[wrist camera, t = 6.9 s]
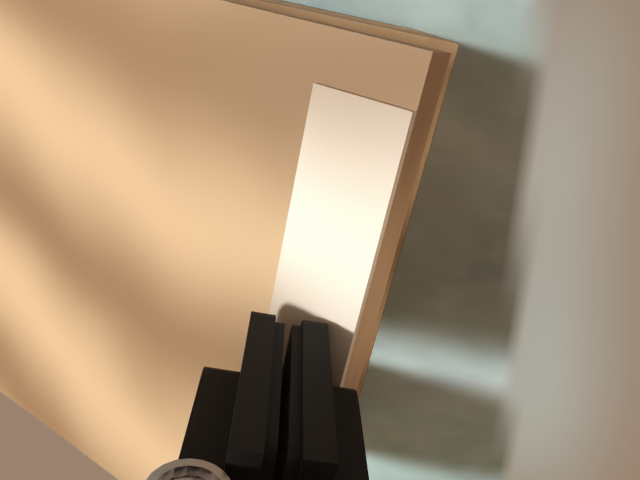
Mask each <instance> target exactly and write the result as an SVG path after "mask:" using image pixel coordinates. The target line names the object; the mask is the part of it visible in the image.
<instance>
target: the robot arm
mask: <svg viewBox="0 0 640 480" xmlns="http://www.w3.org/2000/svg"><path fill="white" fill-rule="evenodd" d="M284 332H285V323H279V322H276V315H272V314H266V313H260V312H254V311H251V315H250V321H249V326H248V332H247V337H246V343H245V348H244V354H243V360H242V365H241V371H240V372H238V371H231V370H224V369H218V368H211V367H205V366H204V368H203V370H202V374H201V377H200V381H199V385H198V388H197V392H196V396H195V399H194V403H193V407H192V410H191V414H190V418H189V422H188V425H187V429H186V433H185V436H184V440H183V444H182V447H181V451H180V455H179V458H178V460H174V461H171V462H168V463H166V464H163V465H161V466H160V467H159V468H157V469H156V470H154V471H153V472H152V473H151V474H150V475H149V477H148V478H147V479H146V480H369V476H368V469H367V461H366V454H365V446H364V439H363V431H362V424H361V416H360V409H359V401H358V395H357V391H356V390H355V389H350V388H343V387H336V386H333V383H332V369H331V356H330V342H329V328H328V324H327V323H321V322H315V321H309V320H302V323H301V326H297V325H292V326H291V330H290V335H289V339H288V344H287V349H286V353H285V358H284V363H283V348H284ZM282 365H283V367H282Z"/></svg>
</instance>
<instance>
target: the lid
mask: <svg viewBox="0 0 640 480" xmlns="http://www.w3.org/2000/svg"><path fill="white" fill-rule="evenodd" d="M450 56H451V53H448V52H444V51H440V50H436V49H432V48H428V47H423V46H419V45H415V44H411V43H407V42H403V41H398V40H394V39H390V38H386V37H382V36H378V35H374V34H369V33H365V32H361V31H357V30H353V29H349V28H344V27H340V26H336V25H332V24H328V23H324V22H319V21H315V20H311V19H307V18H303V17H299V16H295V15H290V14H286V13H282V12H278V11H274V10H270V9H265V8H261V7H257V6H253V5H249V4H245V3H240V2H236V1H232V0H0V392H2V393H3V394H4V395H6V396H7V397H8V398H10V399H11V400H13V401H14V402H15V403H17V404H18V405H19V406H21V407H22V408H23V409H25V410H26V411H27V412H29V413H30V414H31V415H33V416H34V417H35V418H37V419H38V420H39V421H41V422H42V423H43V424H45V425H46V426H47V427H49V428H50V429H51V430H53V431H54V432H55V433H57V434H58V435H59V436H61V437H62V438H63V439H65V440H66V441H67V442H69V443H70V444H71V445H73V446H74V447H75V448H77V449H78V450H79V451H81V452H82V453H83V454H85V455H86V456H87V457H89V458H90V459H92V460H93V461H94V462H96V463H97V464H98V465H99V466H101V467H102V468H104V469H105V470H106V471H108V472H109V473H110V474H112V475H113V476H114V477H116V478H117V479H118V480H146V479H147V478H148V477H149V475H150V474H151V473H152V472H153V471H154V470H156V469H157V468H159V467H160V466H161V465H163V464H166V463H168V462H171V461H174V460H178V458H179V455H180V451H181V447H182V444H183V440H184V436H185V433H186V429H187V425H188V422H189V418H190V414H191V410H192V407H193V403H194V399H195V396H196V392H197V388H198V385H199V381H200V377H201V374H202V370H203V368H204V366H205V367H211V368H218V369H224V370H231V371H238V372H240V371H241V365H242V360H243V354H244V348H245V343H246V337H247V332H248V326H249V321H250V315H251V311H254V312H260V313H266V314H272V315H276V322H279V323H285V332H284V348H283V363H284V358H285V353H286V349H287V344H288V339H289V335H290V330H291V326H292V325H297V326H301V323H302V320H309V321H315V322H321V323H327V324H328V328H329V342H330V356H331V369H332V383H333V386H336V387H343V388H350V389H355V390H356V391H357V388H358V384H359V381H360V377H361V374H362V370H363V366H364V363H365V359H366V356H367V352H368V349H369V345H370V342H371V338H372V334H373V331H374V327H375V324H376V320H377V317H378V313H379V309H380V306H381V302H382V299H383V295H384V292H385V288H386V284H387V281H388V277H389V274H390V270H391V267H392V263H393V259H394V256H395V252H396V249H397V245H398V242H399V238H400V234H401V231H402V227H403V224H404V220H405V217H406V213H407V209H408V206H409V202H410V199H411V195H412V192H413V188H414V185H415V181H416V177H417V174H418V170H419V167H420V163H421V160H422V156H423V152H424V149H425V145H426V142H427V138H428V135H429V131H430V127H431V124H432V120H433V117H434V113H435V110H436V106H437V102H438V99H439V95H440V92H441V88H442V85H443V81H444V77H445V74H446V70H447V67H448V63H449V60H450ZM282 367H283V365H282Z"/></svg>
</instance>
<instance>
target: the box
mask: <svg viewBox="0 0 640 480" xmlns="http://www.w3.org/2000/svg"><path fill="white" fill-rule="evenodd" d="M232 1H236V2H240V3H245V4H249V5H253V6H257V7H261V8H265V9H270V10H274V11H278V12H282V13H286V14H290V15H295V16H299V17H303V18H307V19H311V20H315V21H319V22H324V23H328V24H332V25H336V26H340V27H344V28H349V29H353V30H357V31H361V32H365V33H369V34H374V35H378V36H382V37H386V38H390V39H394V40H398V41H403V42H407V43H411V44H415V45H419V46H423V47H428V48H432V49H436V50H440V51H444V52H448V53H451V56H450V60H449V63H448V67H447V70H446V74H445V77H444V81H443V85H442V88H441V92H440V95H439V99H438V102H437V106H436V110H435V113H434V117H433V120H432V124H431V127H430V131H429V135H428V138H427V142H426V145H425V149H424V152H423V156H422V160H421V163H420V167H419V170H418V174H417V177H416V181H415V185H414V188H413V192H412V195H411V199H410V202H409V206H408V209H407V213H406V217H405V220H404V224H403V227H402V231H401V234H400V238H399V242H398V245H397V249H396V252H395V256H394V259H393V263H392V267H391V270H390V274H389V277H388V281H387V284H386V288H385V292H384V295H383V299H382V302H381V306H380V309H379V313H378V317H377V320H376V324H375V327H374V331H373V334H372V338H371V342H370V345H369V349H368V352H367V356H366V359H365V363H364V366H363V370H362V374H361V377H360V381H359V384H358V388H357V395H358V399H359V395H360V392H361V388H362V385H363V381H364V378H365V374H366V370H367V367H368V363H369V360H370V356H371V353H372V349H373V346H374V342H375V339H376V335H377V332H378V328H379V325H380V321H381V318H382V314H383V311H384V307H385V303H386V300H387V296H388V293H389V289H390V286H391V282H392V279H393V275H394V272H395V268H396V265H397V261H398V258H399V254H400V251H401V247H402V244H403V240H404V237H405V233H406V229H407V226H408V222H409V219H410V215H411V212H412V208H413V205H414V201H415V198H416V194H417V191H418V187H419V184H420V180H421V177H422V173H423V170H424V166H425V163H426V159H427V155H428V152H429V148H430V145H431V141H432V138H433V134H434V131H435V127H436V124H437V120H438V117H439V113H440V110H441V106H442V103H443V99H444V96H445V92H446V88H447V85H448V81H449V78H450V74H451V71H452V67H453V64H454V60H455V57H456V53H457V50H458V46H459V44H457V43H454V42H451V41H448V40H445V39H442V38H439V37H436V36H433V35H430V34H426V33H423V32H420V31H417V30H414V29H410V28H405V27H401V26H396V25H392V24H387V23H382V22H378V21H373V20H369V19H364V18H359V17H355V16H350V15H346V14H341V13H337V12H332V11H327V10H323V9H318V8H314V7H309V6H305V5H300V4H295V3H291V2H286V1H282V0H232Z"/></svg>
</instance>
